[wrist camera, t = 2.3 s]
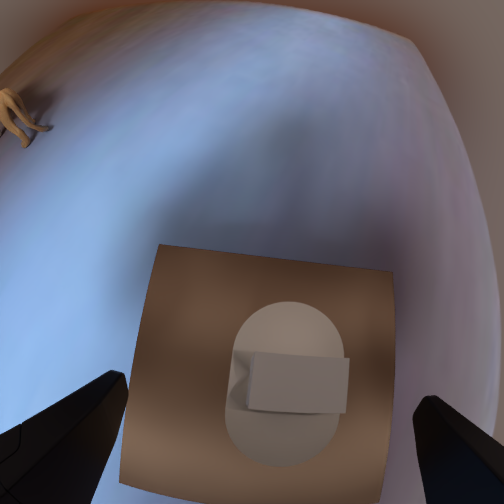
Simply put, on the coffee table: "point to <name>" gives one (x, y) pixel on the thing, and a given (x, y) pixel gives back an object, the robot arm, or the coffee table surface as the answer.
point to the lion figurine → (10, 100)
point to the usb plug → (286, 384)
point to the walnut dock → (218, 371)
